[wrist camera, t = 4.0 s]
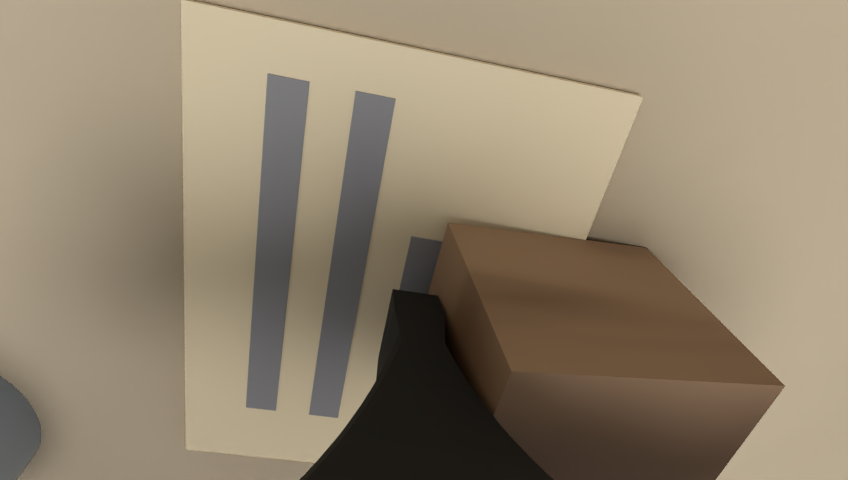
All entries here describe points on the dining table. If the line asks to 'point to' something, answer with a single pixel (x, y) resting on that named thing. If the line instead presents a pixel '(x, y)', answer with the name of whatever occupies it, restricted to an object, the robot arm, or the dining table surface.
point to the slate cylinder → (16, 431)
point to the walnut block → (596, 356)
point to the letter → (349, 205)
